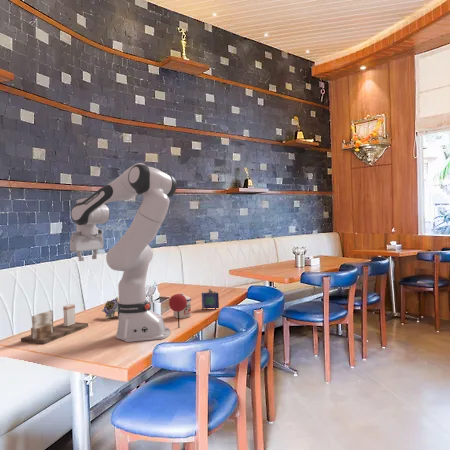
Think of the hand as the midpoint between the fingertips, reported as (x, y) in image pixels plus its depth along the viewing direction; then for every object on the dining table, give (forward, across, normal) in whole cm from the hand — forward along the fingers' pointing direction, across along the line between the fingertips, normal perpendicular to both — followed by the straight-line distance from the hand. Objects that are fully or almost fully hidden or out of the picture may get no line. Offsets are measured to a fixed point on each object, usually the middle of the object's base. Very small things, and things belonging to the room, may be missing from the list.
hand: (87, 260), depth 195 cm
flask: (+31, +39, -46) cm, 68 cm away
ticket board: (+30, -21, +1) cm, 37 cm away
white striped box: (+28, -13, +2) cm, 31 cm away
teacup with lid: (+31, +22, -39) cm, 55 cm away
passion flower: (+30, +11, -6) cm, 33 cm away
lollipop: (+32, +2, -47) cm, 56 cm away
